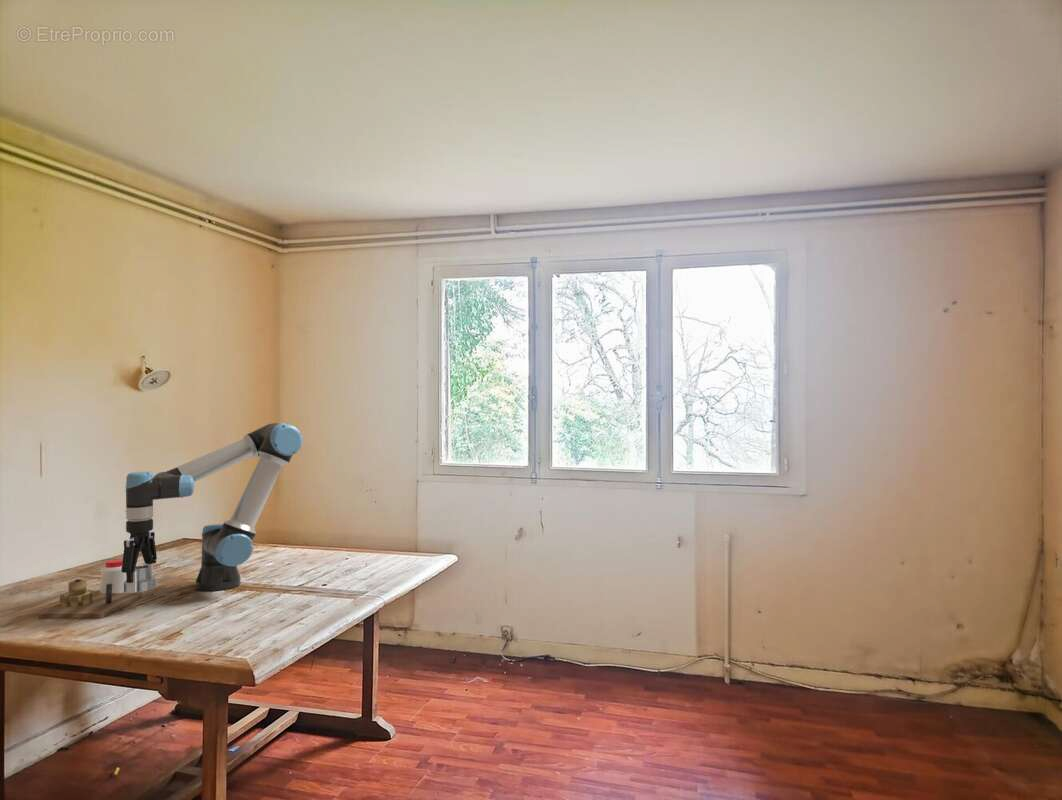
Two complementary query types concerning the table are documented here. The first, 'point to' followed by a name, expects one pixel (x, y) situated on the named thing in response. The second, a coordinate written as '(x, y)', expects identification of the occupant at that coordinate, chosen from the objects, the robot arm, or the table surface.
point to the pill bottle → (113, 576)
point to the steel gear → (143, 579)
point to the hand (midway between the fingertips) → (139, 587)
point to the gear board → (92, 607)
